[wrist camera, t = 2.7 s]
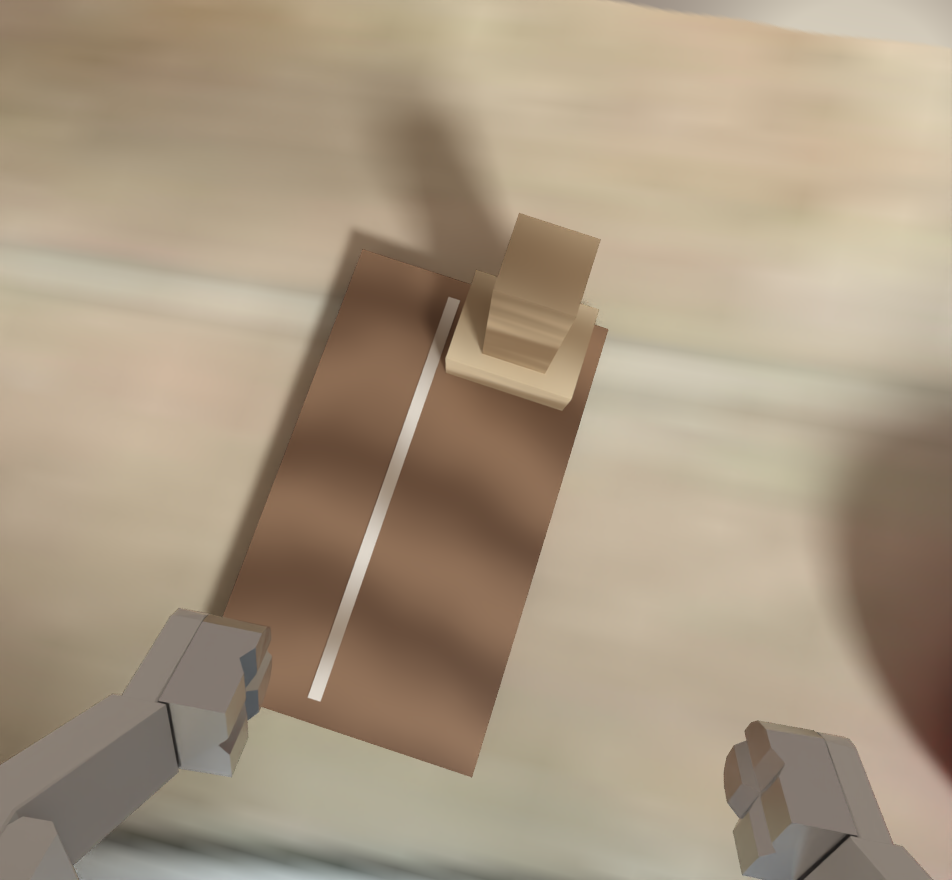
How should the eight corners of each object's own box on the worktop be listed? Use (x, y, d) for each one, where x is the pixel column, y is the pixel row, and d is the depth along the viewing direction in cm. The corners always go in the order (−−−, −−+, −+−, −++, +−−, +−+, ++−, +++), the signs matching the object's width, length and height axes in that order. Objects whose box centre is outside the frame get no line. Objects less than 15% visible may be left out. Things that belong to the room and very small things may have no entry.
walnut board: (470, 766, 31) (472, 777, 29) (208, 678, 31) (196, 685, 30) (601, 338, 35) (608, 328, 33) (366, 261, 35) (362, 248, 33)
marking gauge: (562, 410, 32) (611, 350, 23) (445, 372, 32) (444, 295, 23) (587, 327, 33) (647, 233, 23) (474, 290, 33) (485, 181, 23)
